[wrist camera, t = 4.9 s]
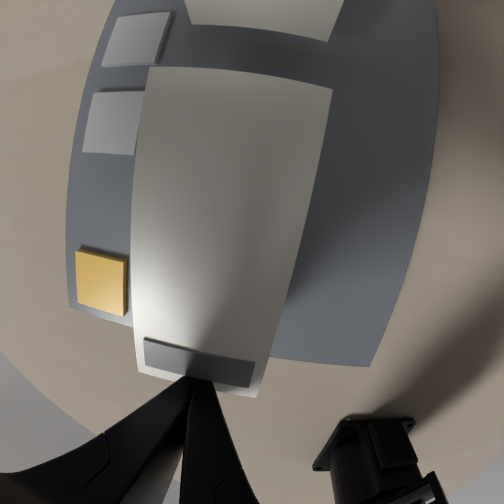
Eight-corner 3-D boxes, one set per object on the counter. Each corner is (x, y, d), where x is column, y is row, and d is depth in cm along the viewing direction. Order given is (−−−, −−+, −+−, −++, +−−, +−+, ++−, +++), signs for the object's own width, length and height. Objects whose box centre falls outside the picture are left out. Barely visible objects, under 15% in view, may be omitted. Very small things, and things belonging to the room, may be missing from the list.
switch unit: (352, 333, 14) (375, 380, 10) (99, 284, 14) (57, 316, 10) (408, -4, 9) (437, -36, 5) (169, -42, 9) (149, -79, 5)
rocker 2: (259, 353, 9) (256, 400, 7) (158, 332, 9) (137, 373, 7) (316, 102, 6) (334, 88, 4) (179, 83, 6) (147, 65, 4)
